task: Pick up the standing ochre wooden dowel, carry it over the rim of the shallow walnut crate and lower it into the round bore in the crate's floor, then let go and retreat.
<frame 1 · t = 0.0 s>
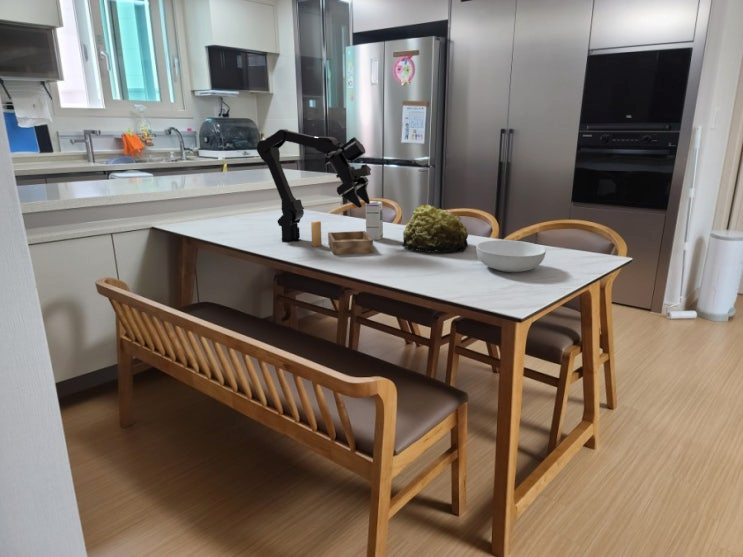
hand: (364, 205, 188), 15 cm above the table, tool tilted 35°, fingers open, 9 cm apart
crate: (349, 248, 187), on the table
lumpy green mound: (434, 247, 189), on the table
peg: (316, 245, 192), on the table
serving bowl: (509, 269, 160), on the table
syrup box: (374, 239, 204), on the table
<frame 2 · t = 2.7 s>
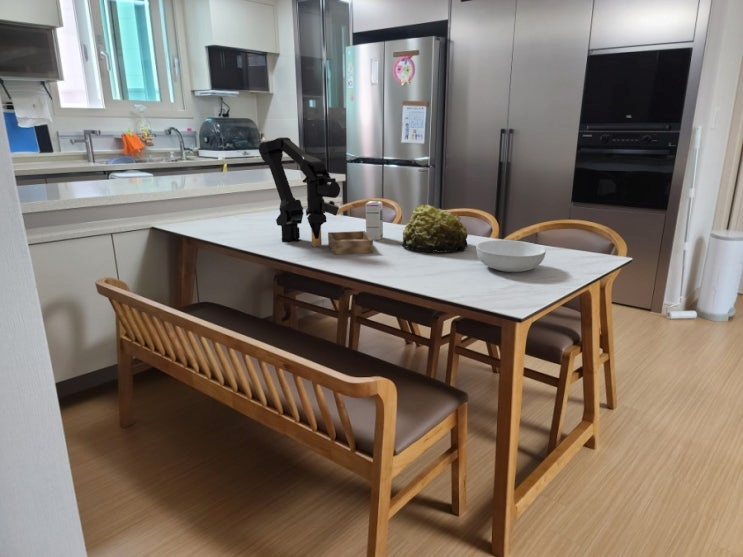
hand: (316, 237, 191), 3 cm above the table, tool pointing down, fingers closed on peg, 4 cm apart
peg: (316, 245, 192), on the table, touching gripper
everything else where it was.
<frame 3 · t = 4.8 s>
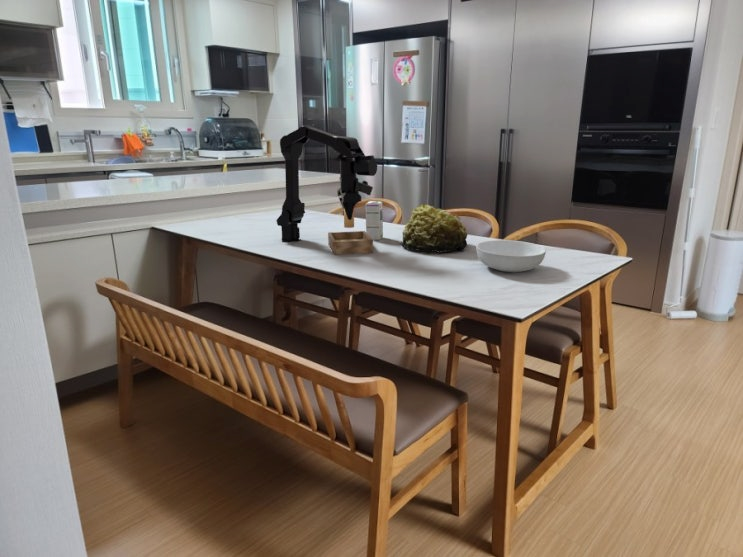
hand: (349, 218, 184), 11 cm above the table, tool pointing down, fingers closed on peg, 4 cm apart
peg: (349, 226, 185), point 8 cm above the table, touching gripper
everything else where it was.
when the fingers open (4 cm above the table, at t = 6.0 s): peg drops 1 cm, resting in crate.
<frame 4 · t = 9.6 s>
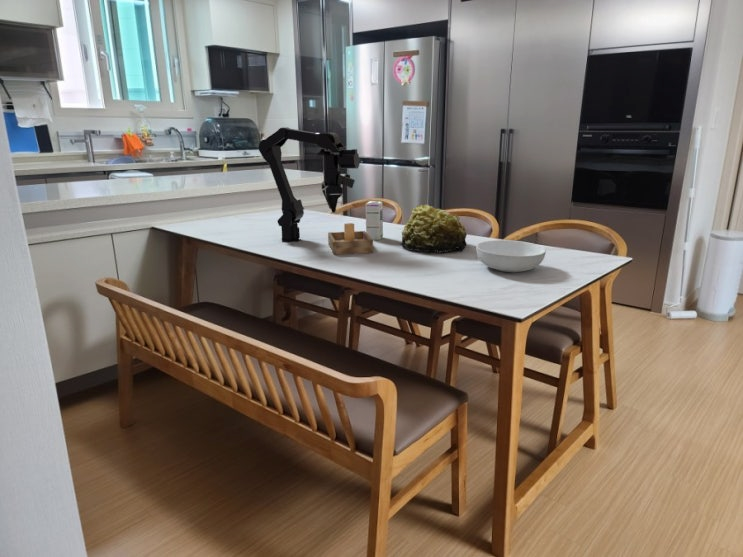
hand: (332, 210, 192), 13 cm above the table, tool pointing down, fingers open, 9 cm apart
peg: (349, 248, 187), resting in crate
everything else where it was.
at the end: peg 0.0 cm off-centre on the crate, point 0.0 cm above the crate's base; peg tilted 0°; the gripper is holding nothing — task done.
